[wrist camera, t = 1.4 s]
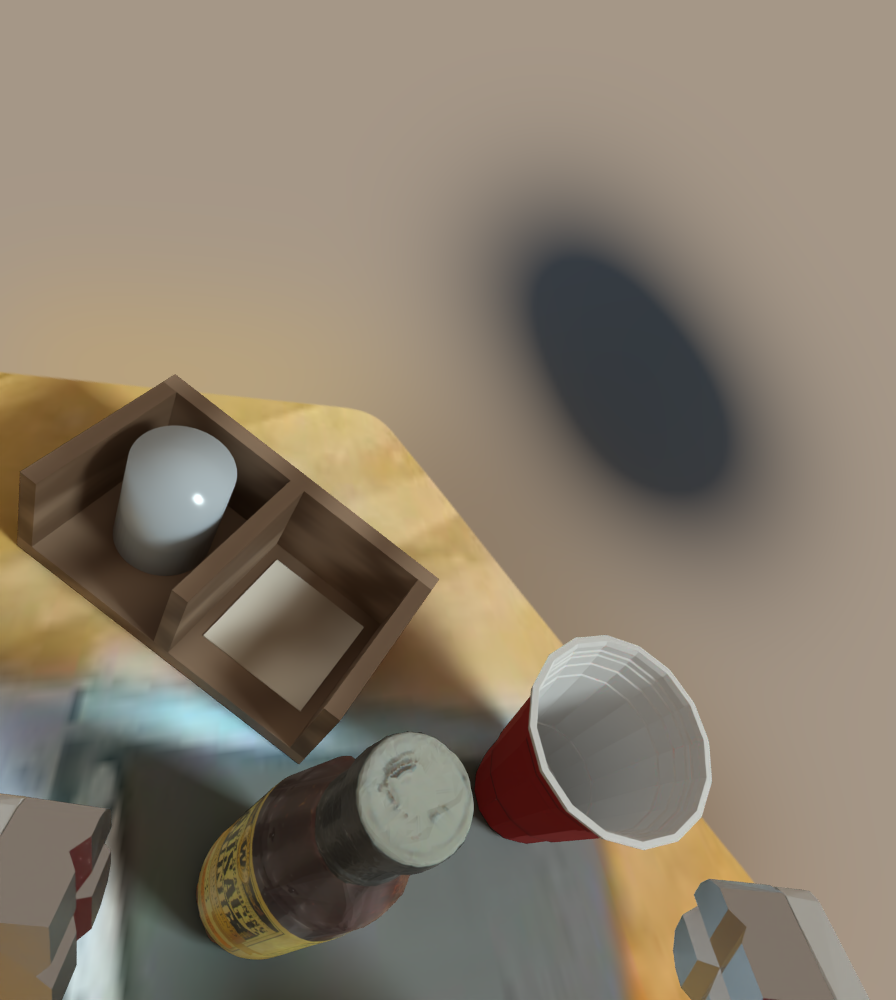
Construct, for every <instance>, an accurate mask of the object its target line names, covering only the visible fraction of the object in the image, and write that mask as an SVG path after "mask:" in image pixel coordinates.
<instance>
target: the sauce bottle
mask: <svg viewBox="0 0 896 1000" xmlns="http://www.w3.org/2000/svg"><path fill="white" fill-rule="evenodd" d="M473 812H474V802H473V795H472V791H471V786H470V781H469V777H468V774H467V772H466V770H465V768H464V766H463V764H462V763H461V761H460V760H459V758H458V757H457V756H456V754H455V753H453V752H452V751H451V750H449V749H448V747H447V746H446V745H444V744H443V743H442V742H440V741H439V740H437V739H436V738H435V737H432V736H429V735H426V734H423V733H421V732H419V733H416V732H409V731H407V732H404V733H396V734H393V735H389V736H386V737H385V738H383V739H382V740H380V741H379V742H377V743H375V744H373V745H372V746H370V747H368V748H367V749H366V750H365V751H364V752H363V753H362V754H361V755H359V756H358V757H357V758H356V759H354V758H353V757H352V756H341V757H337V758H335V759H332V760H330V761H327V762H324V763H322V764H319V765H317V766H314V767H311V768H309V769H306V770H304V771H301V772H298V773H296V774H293V775H291V776H289V777H287V778H285V779H283V780H282V781H281V782H280V783H278V784H277V785H276V786H275V787H273V788H272V789H271V790H270V791H269V792H268V793H267V794H266V795H264V796H263V797H262V798H261V799H260V800H259V801H258V802H257V803H255V804H254V806H252V807H251V808H250V809H249V810H247V811H246V812H245V813H244V814H243V815H242V816H241V817H240V818H239V819H238V820H237V821H236V822H235V823H234V824H233V825H232V826H231V827H230V828H228V829H227V830H226V831H225V832H223V833H222V835H221V836H220V837H219V838H218V839H217V841H216V842H215V843H214V845H213V846H212V847H211V849H210V851H209V852H208V854H207V856H206V858H205V861H204V863H203V866H202V869H201V872H200V874H199V882H198V884H197V890H196V897H197V904H198V909H199V912H200V918H201V920H202V923H203V925H204V927H205V930H206V933H207V935H208V936H209V938H210V939H211V941H213V942H214V943H217V944H218V945H219V946H221V947H222V948H223V949H224V950H226V951H227V952H229V953H231V954H233V955H235V956H237V957H241V958H246V959H268V958H273V957H276V956H279V955H283V954H286V953H289V952H292V951H295V950H298V949H302V948H305V947H308V946H312V945H315V944H319V943H322V942H326V941H329V940H333V939H336V938H339V937H341V936H343V935H345V934H347V933H349V932H351V931H353V930H356V929H359V928H364V927H365V926H367V925H368V924H370V923H371V922H373V921H375V920H376V919H377V918H379V917H380V916H382V914H383V913H385V912H386V911H388V909H389V908H390V907H391V906H392V905H393V904H394V903H395V902H396V901H397V899H398V898H399V897H400V896H401V895H402V894H403V892H404V889H405V887H406V884H407V882H408V878H409V876H410V875H412V874H417V873H422V872H424V871H426V870H429V869H431V868H433V867H435V866H437V865H439V864H440V863H442V862H444V861H445V860H447V859H448V858H450V857H451V856H452V855H453V854H454V853H455V852H456V851H457V850H458V849H459V848H460V847H461V846H462V844H463V843H464V841H465V838H466V835H467V834H468V832H469V830H470V826H471V822H472V817H473Z"/></svg>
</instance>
